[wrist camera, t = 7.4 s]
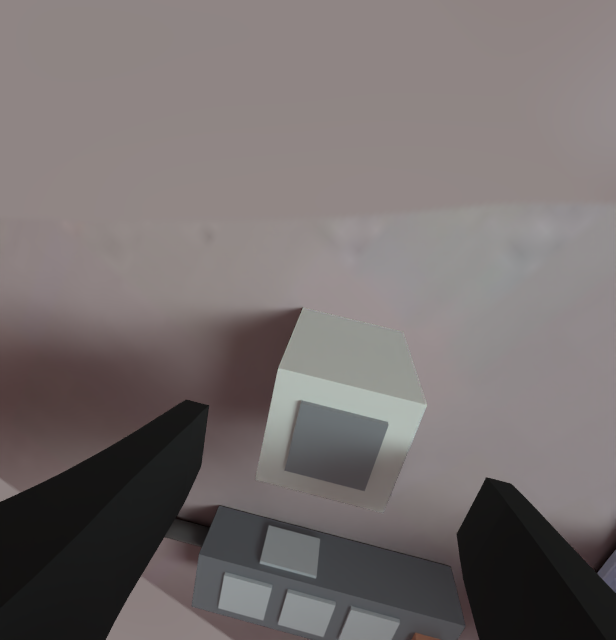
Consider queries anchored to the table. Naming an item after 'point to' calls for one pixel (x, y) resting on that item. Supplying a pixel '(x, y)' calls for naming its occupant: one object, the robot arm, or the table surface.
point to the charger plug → (342, 411)
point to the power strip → (317, 582)
